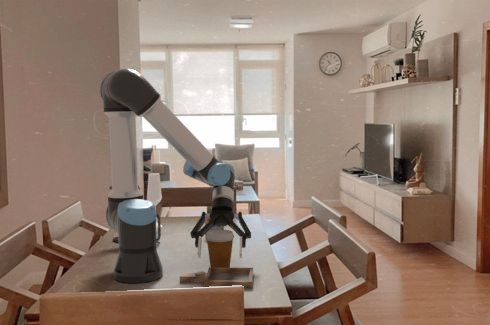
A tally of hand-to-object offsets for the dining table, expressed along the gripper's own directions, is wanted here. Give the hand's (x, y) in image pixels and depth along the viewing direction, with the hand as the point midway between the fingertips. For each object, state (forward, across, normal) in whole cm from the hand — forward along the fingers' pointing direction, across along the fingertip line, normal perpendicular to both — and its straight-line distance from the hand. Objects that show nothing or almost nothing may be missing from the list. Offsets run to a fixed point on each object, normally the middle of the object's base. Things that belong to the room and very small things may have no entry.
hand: (219, 255), depth 171 cm
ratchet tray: (+11, 0, +4) cm, 12 cm away
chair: (-24, +37, -31) cm, 53 cm away
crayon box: (-29, +6, -36) cm, 47 cm away
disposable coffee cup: (+2, 0, -5) cm, 5 cm away
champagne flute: (-43, +35, -50) cm, 75 cm away
